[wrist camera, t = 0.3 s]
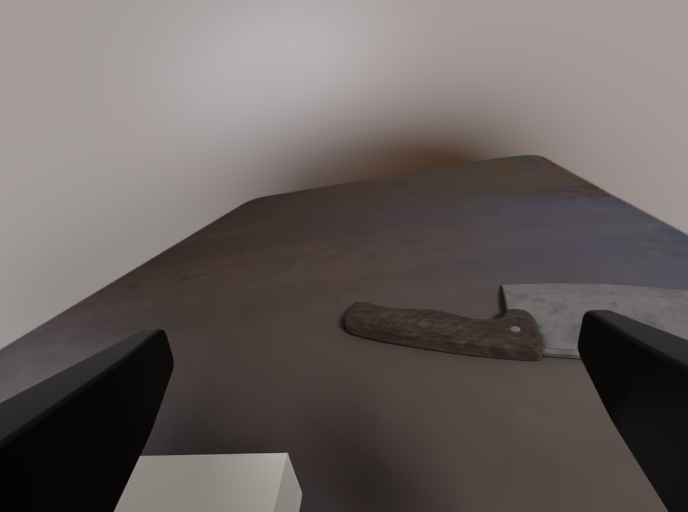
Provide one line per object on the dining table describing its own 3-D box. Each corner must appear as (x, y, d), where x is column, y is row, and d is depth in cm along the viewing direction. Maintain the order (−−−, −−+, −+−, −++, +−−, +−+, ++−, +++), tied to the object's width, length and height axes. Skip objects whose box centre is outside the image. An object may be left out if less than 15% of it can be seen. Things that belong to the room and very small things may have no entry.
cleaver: (339, 358, 32) (334, 338, 31) (361, 288, 40) (358, 270, 39) (803, 380, 24) (818, 354, 23) (714, 288, 33) (722, 266, 32)
